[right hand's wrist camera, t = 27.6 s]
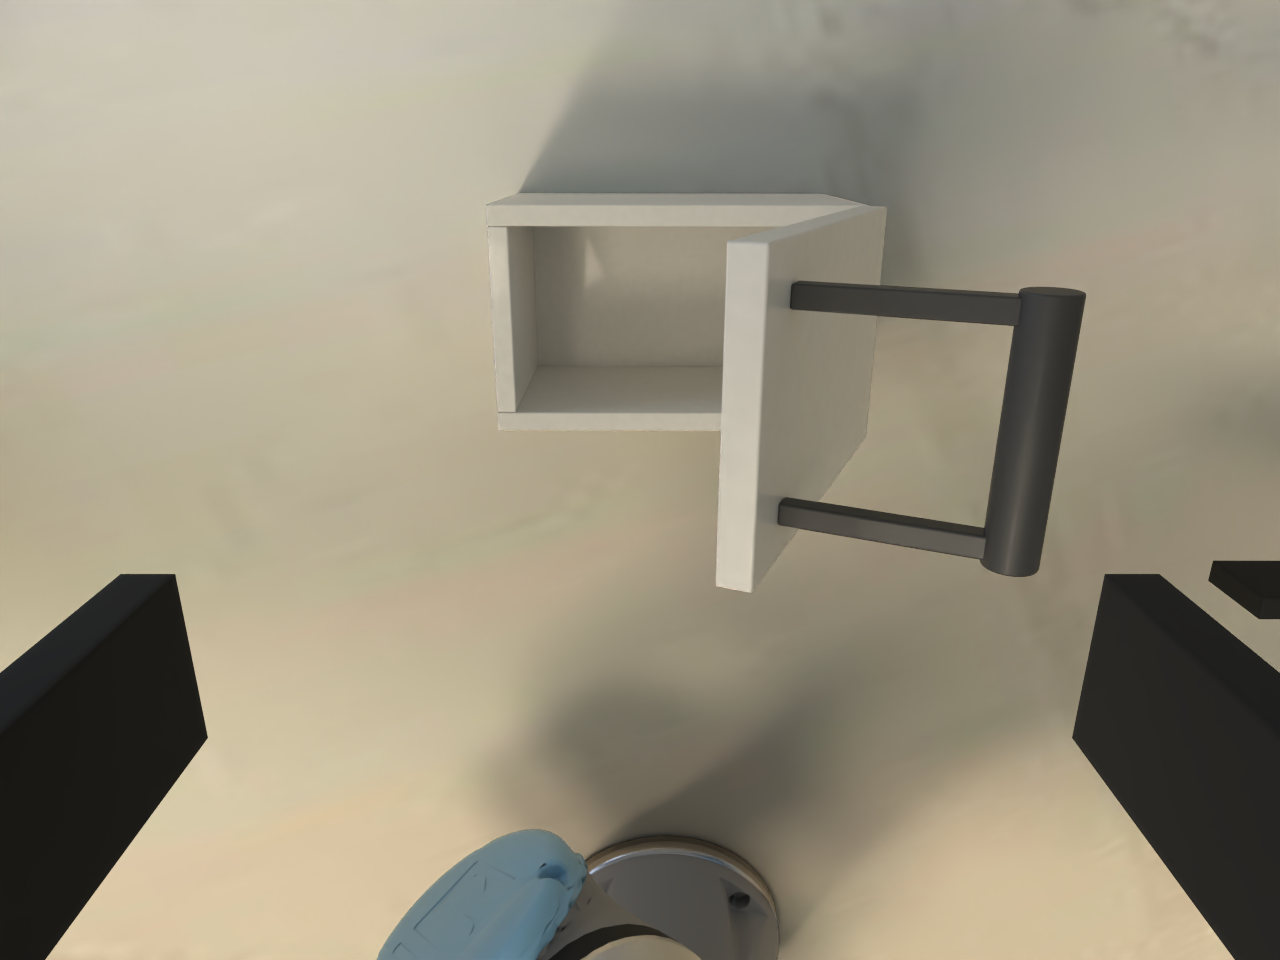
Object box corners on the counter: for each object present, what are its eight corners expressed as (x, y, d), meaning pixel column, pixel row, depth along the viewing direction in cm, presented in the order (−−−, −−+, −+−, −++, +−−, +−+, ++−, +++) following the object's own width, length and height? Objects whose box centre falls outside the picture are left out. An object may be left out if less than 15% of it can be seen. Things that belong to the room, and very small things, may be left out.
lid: (714, 587, 25) (1028, 650, 22) (726, 240, 22) (1096, 256, 19) (840, 434, 39) (1046, 460, 36) (859, 205, 35) (1088, 211, 32)
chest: (525, 377, 48) (498, 431, 39) (516, 193, 45) (485, 204, 36) (810, 378, 48) (850, 431, 39) (823, 193, 45) (869, 205, 36)
